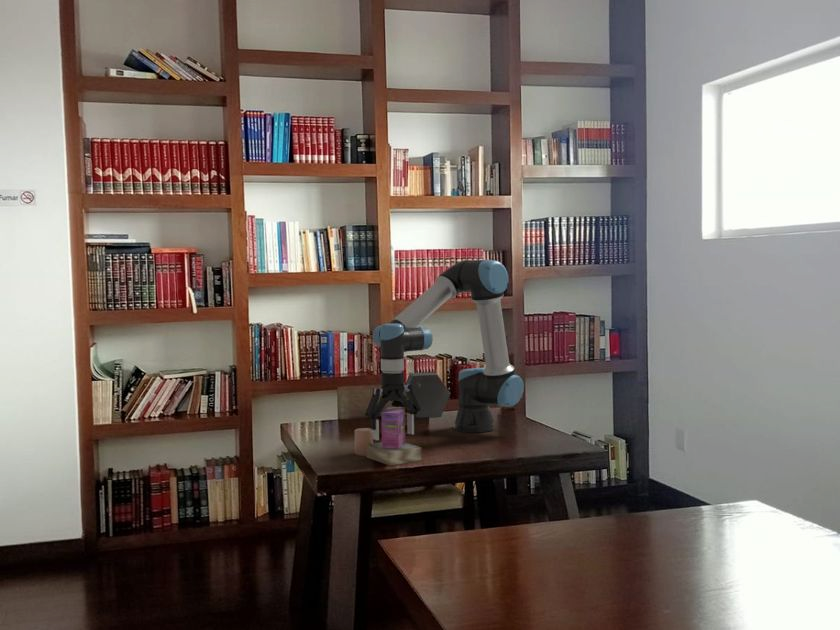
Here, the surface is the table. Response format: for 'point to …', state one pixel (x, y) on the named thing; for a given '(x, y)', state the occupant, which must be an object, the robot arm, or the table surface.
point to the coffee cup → (398, 404)
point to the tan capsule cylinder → (362, 440)
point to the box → (393, 427)
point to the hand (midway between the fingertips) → (393, 436)
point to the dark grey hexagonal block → (428, 394)
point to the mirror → (394, 454)
